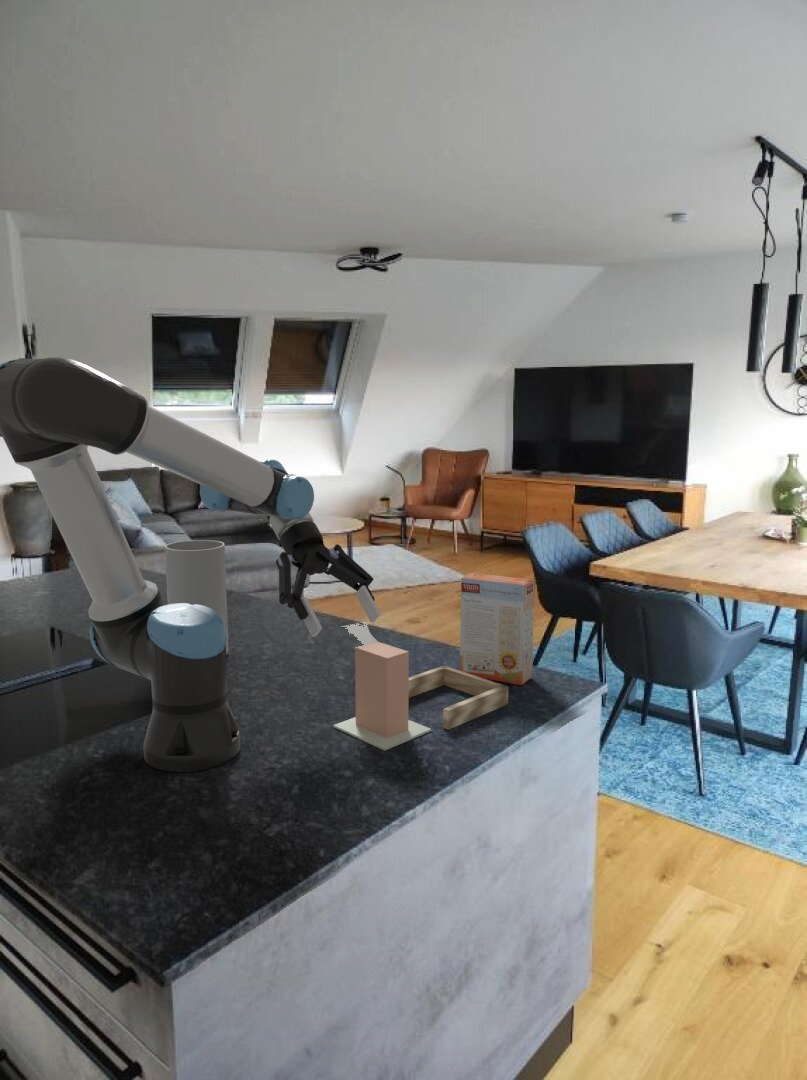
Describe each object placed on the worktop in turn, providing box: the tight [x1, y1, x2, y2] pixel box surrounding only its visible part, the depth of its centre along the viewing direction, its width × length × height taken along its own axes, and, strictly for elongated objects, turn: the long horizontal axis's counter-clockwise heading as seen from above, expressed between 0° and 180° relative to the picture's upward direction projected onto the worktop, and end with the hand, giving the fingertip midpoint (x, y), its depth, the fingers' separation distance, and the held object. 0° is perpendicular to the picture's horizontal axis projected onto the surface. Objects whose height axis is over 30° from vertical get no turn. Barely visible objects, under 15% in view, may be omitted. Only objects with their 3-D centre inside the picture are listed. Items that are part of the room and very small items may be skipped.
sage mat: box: [333, 716, 432, 752], centre depth 138 cm, size 11×13×1 cm
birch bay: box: [409, 665, 509, 730], centre depth 149 cm, size 17×16×4 cm
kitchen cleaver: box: [341, 621, 379, 645], centre depth 184 cm, size 31×2×10 cm
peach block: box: [354, 640, 410, 738], centre depth 136 cm, size 5×8×14 cm, turn 45°
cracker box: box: [459, 572, 536, 686], centre depth 162 cm, size 14×6×21 cm, turn 59°
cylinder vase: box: [164, 539, 229, 656], centre depth 174 cm, size 12×12×25 cm
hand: (347, 625), depth 141 cm, fingers open, 13 cm apart
